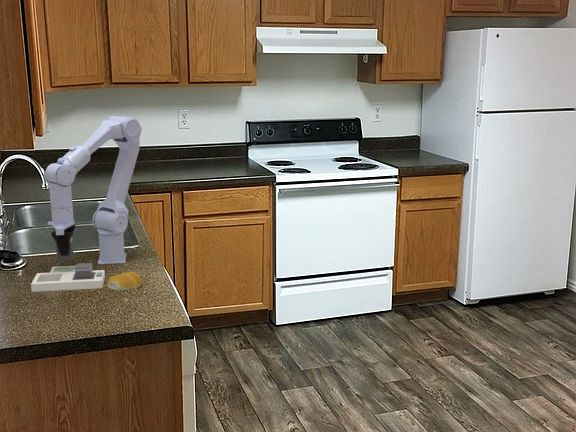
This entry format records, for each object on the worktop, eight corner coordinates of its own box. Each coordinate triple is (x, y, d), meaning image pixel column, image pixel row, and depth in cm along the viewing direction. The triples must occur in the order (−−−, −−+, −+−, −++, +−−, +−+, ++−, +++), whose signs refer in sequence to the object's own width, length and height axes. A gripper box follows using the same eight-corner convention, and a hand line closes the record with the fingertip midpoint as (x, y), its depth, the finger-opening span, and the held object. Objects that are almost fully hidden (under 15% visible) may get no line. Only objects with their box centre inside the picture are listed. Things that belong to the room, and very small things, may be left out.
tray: (52, 269, 192) (52, 266, 192) (84, 268, 194) (84, 265, 193) (47, 280, 183) (47, 276, 183) (81, 278, 185) (81, 275, 185)
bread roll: (148, 285, 181) (147, 271, 180) (122, 294, 174) (121, 280, 173) (127, 279, 185) (127, 266, 184) (102, 288, 178) (101, 274, 177)
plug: (59, 257, 189) (56, 233, 187) (74, 256, 190) (71, 232, 188) (57, 261, 185) (54, 237, 183) (72, 260, 186) (70, 236, 184)
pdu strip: (37, 281, 182) (36, 262, 181) (104, 278, 185) (103, 259, 184) (31, 293, 173) (30, 273, 172) (102, 289, 177) (101, 270, 175)
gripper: (50, 201, 190) (54, 246, 193) (42, 213, 176) (46, 261, 179) (76, 200, 191) (79, 245, 195) (69, 212, 177) (73, 260, 181)
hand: (65, 252), depth 187 cm, fingers closed on plug, 4 cm apart
